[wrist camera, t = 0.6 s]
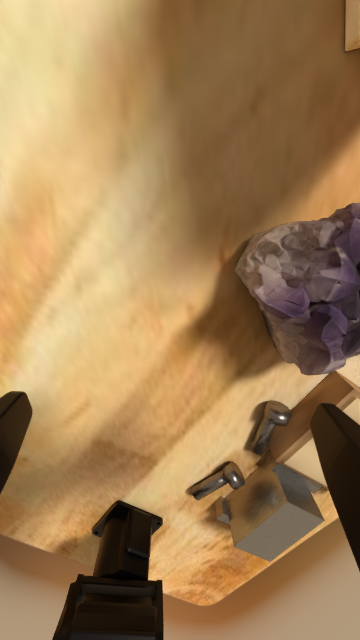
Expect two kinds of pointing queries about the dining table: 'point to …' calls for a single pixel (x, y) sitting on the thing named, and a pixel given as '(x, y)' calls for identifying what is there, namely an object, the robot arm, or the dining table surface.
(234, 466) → the bolt
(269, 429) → the bolt
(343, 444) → the robot arm
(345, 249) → the geode
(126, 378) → the dining table surface
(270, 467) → the block
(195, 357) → the dining table surface
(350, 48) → the coffeecake box
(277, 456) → the stand
